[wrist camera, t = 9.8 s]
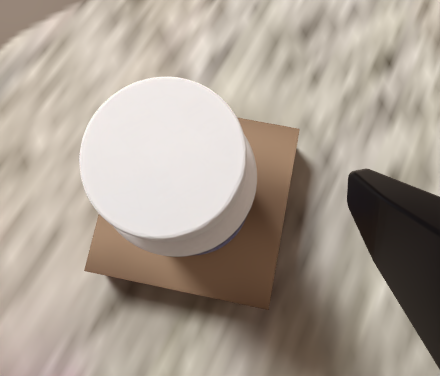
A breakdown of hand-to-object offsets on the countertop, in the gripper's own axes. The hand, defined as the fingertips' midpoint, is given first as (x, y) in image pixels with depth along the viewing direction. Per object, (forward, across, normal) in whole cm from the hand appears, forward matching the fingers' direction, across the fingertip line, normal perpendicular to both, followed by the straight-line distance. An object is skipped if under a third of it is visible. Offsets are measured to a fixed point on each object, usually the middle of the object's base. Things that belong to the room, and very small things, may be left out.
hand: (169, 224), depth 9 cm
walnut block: (+11, 0, +8) cm, 13 cm away
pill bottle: (+9, 0, +6) cm, 11 cm away
